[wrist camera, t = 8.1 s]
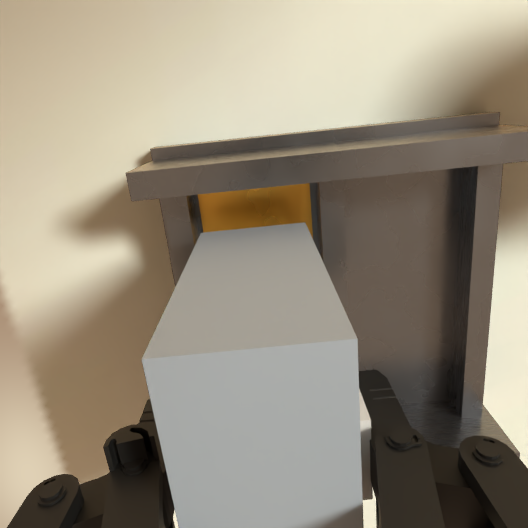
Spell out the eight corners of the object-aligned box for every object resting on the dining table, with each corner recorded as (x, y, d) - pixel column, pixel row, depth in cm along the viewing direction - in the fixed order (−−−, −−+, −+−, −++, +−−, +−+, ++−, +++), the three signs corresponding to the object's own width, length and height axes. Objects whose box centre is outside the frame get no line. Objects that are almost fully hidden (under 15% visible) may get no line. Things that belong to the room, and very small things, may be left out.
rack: (155, 147, 20) (115, 160, 14) (488, 112, 19) (579, 112, 14) (206, 431, 25) (191, 521, 19) (467, 408, 25) (526, 493, 19)
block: (201, 232, 16) (141, 359, 8) (305, 222, 16) (357, 338, 8) (233, 442, 20) (215, 691, 11) (319, 434, 20) (367, 678, 11)
